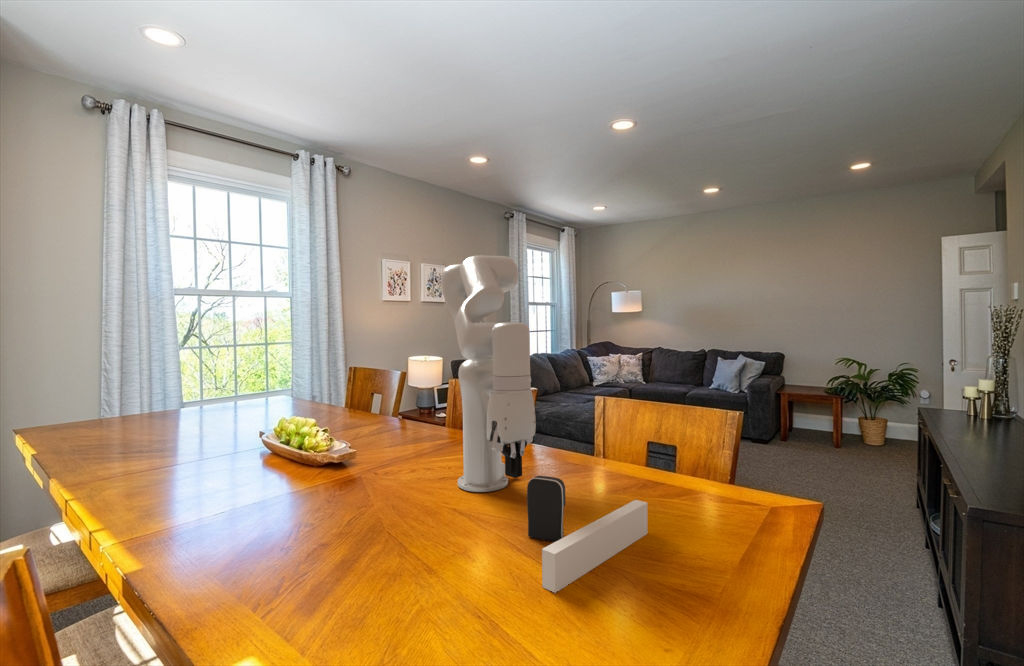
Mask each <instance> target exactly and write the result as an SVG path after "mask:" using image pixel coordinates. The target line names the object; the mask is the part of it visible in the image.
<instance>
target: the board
mask: <svg viewBox="0 0 1024 666" xmlns="http://www.w3.org/2000/svg"><path fill="white" fill-rule="evenodd" d="M648 532H649V531H648V502H646V501H643V500H638V499H634V500H632V501H630V502H628V503H626V504H624V505H623V506H621V507H619V508H616V509H615V510H613V511H611V512H609V513H607V514H606V515H604V516H602V517H600V518H598V519H596V520H595V521H592V522H590V523H589V524H587V525H584V526H583V527H581V528H578V529H577V530H575V531H573V532H571V533H569V534H567V535H566V536H564V537H563V538H562V539H560V540H558V541H556V542H552V543H551V544H548V545H547V546H545V547H542V549H541V569H542V570H541V572H542V573H541V575H542V576H541V579H542V580H541V581H542V584H541V585H542V588H543V589H546V590H547V591H550V592H551V591H552V593H553V592H554V593H553V594H556V593H557V591H558V592H559V591H561V590H562V589H564V588H565V587H567V586H569V585H570V584H571V583H573V582H575V581H576V580H578V579H579V578H581V577H582V576H584V575H586V574H587V573H589V572H590V571H592V570H594V568H596V567H597V568H598V566H599V565H601V564H603V563H604V562H606V561H608V560H609V559H611V558H612V557H613V556H615V555H617V554H618V553H620V552H621V551H623V550H625V549H626V548H628V547H629V546H631V545H632V544H634V543H636V542H637V541H638V540H640V539H642V538H643V537H644V536H646V535H648ZM568 584H569V585H568Z"/></svg>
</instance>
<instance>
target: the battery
mask: <svg viewBox="0 0 1024 666" xmlns="http://www.w3.org/2000/svg"><path fill="white" fill-rule="evenodd" d="M526 488H527V489H526V501H527V502H526V507H527V508H526V509H527V510H526V511H527V536H528V537H529V538H532V539H535V540H542V541H546V542H548V541H549V542H552V543H554V542H556V541H558V540H560V539H562V538H564V537H565V535H564V533H565V530H564V510H565V506H566V504H567V503H566V485H565V482H564V480H562V479H560V478H558V477H554V476H553V477H552V476H547V475H535V476H534V477H532V478H531V479H529V481H528V483H527V487H526Z"/></svg>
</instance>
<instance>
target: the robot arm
mask: <svg viewBox="0 0 1024 666" xmlns="http://www.w3.org/2000/svg"><path fill="white" fill-rule="evenodd" d="M518 280H519V270H518V266H517V264H516V262H515V261H514V259H512V257H510V256H506V255H480V254H479V255H472V256H468V257H467V258H465V260H463V261H462V263H456V264H452V265H448V266H446V267H445V268H444V269H443V271H442V274H441V281H440V283H441V290H442V295H443V299H444V302H445V303H446V307H447V308H448V311H450V314H451V316H452V317H453V321H454V327H455V332H456V337H457V342H458V348H459V353H460V354H461V356H462V357H463V358H465V359H466V360H465V361H463V362H462V363H461V364H460V365H459V368H458V384H459V389H460V396H461V405H462V406H461V408H462V445H463V446H462V450H463V452H462V455H463V457H462V458H463V475H462V476H460V477H458V479H457V486H458V487H459V489H462V490H464V491H467V492H472V493H473V492H474V493H487V492H488V493H489V492H494V491H500V490H502V489H504V488H506V487H507V486H508V484H509V478H514V479H516V478H520V477H522V476H523V456H525V449H526V447H527V446H528V445H530V444H532V442H533V440H534V437H535V434H536V427H537V426H536V423H537V422H536V410H535V400H534V395H533V391H532V389H531V388H532V386H531V383H532V377H531V350H530V349H531V348H530V347H531V345H530V344H531V343H530V338H531V337H530V327H529V325H528V324H527V323H524V322H513V321H510V322H507V321H506V322H505V321H504V322H503V321H502V322H501V321H500V322H497V321H496V322H491V321H490V322H488V321H487V317H488V316H490V315H492V314H494V313H496V312H497V311H499V310H500V308H501V307H502V306H503V304H504V300H505V293H507V292H509V291H512V290H513V289H514V288H515V287H516V285H517V284H518ZM502 456H503V457H504V462H503V461H502V460H503V459H502ZM508 477H509V478H508Z"/></svg>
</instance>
